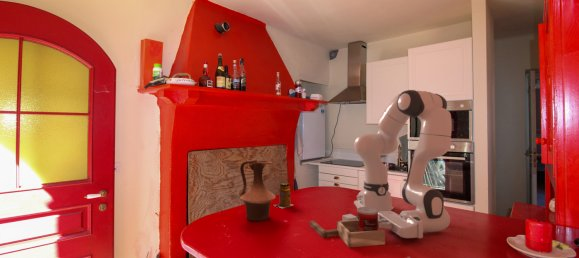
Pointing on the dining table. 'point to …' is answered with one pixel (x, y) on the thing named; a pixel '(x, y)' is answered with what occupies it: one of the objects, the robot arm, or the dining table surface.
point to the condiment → (284, 196)
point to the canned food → (367, 219)
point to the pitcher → (256, 192)
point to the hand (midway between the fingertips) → (376, 224)
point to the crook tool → (323, 232)
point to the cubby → (359, 235)
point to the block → (348, 217)
